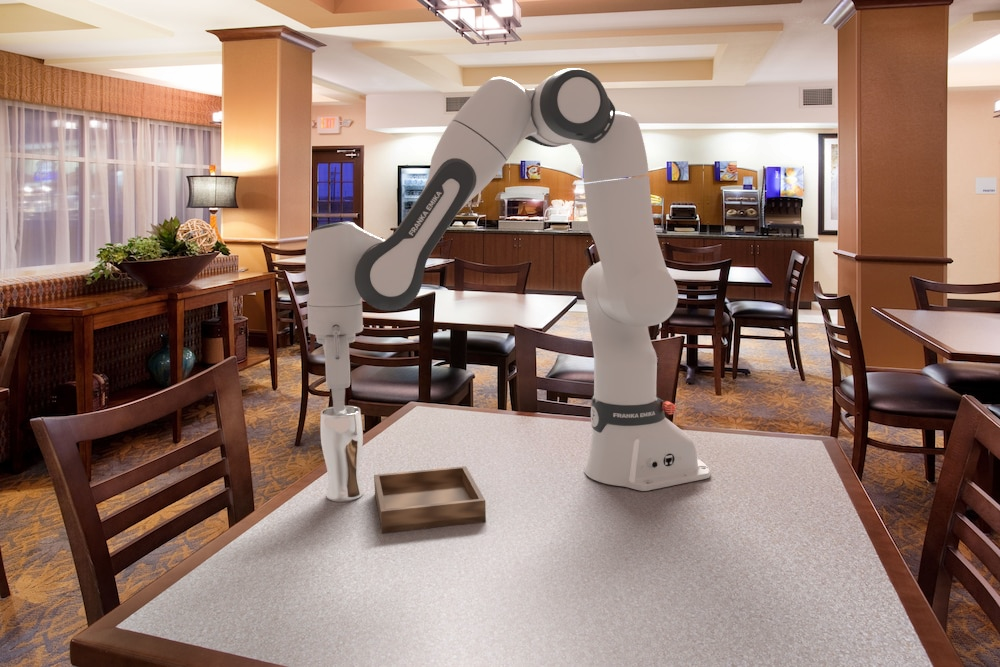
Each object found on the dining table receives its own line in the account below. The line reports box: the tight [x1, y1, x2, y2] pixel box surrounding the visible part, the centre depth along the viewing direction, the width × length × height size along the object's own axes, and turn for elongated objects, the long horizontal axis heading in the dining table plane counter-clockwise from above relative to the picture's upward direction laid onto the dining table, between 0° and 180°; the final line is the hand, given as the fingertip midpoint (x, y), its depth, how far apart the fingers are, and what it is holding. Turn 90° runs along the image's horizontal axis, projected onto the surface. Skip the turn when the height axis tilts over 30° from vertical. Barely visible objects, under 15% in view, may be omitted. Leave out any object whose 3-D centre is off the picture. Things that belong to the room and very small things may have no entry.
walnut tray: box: [373, 465, 487, 534], centre depth 118 cm, size 16×16×4 cm
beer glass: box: [319, 405, 364, 503], centre depth 123 cm, size 7×7×15 cm
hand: (338, 402), depth 121 cm, fingers open, 8 cm apart
